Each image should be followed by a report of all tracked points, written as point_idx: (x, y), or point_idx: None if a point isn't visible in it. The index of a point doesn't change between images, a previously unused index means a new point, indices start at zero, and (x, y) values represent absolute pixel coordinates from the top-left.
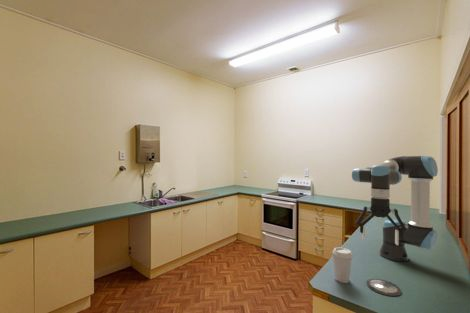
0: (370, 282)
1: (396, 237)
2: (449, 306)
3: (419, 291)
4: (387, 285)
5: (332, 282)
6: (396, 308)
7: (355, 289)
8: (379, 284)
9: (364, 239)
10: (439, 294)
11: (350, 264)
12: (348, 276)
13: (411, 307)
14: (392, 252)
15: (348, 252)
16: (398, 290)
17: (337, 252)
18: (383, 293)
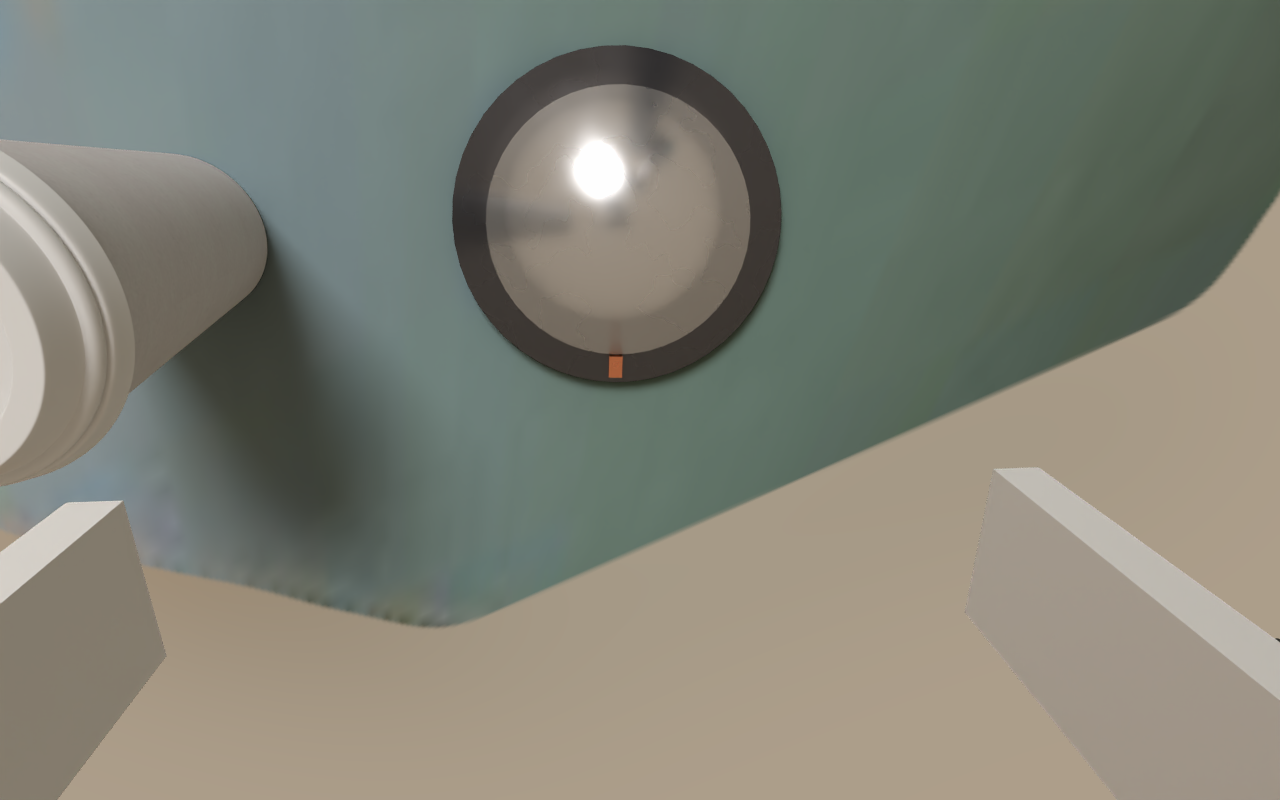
0: (493, 206)
1: (1108, 778)
2: (1091, 326)
3: (966, 141)
4: (667, 196)
5: None
6: (655, 541)
7: (346, 393)
8: (585, 211)
9: (136, 685)
10: (1138, 119)
11: (175, 328)
12: (232, 302)
13: (773, 478)
14: None
15: (6, 409)
16: (753, 254)
17: None
18: (595, 380)
